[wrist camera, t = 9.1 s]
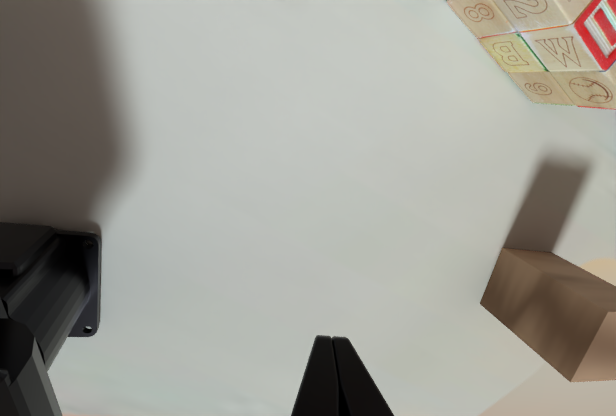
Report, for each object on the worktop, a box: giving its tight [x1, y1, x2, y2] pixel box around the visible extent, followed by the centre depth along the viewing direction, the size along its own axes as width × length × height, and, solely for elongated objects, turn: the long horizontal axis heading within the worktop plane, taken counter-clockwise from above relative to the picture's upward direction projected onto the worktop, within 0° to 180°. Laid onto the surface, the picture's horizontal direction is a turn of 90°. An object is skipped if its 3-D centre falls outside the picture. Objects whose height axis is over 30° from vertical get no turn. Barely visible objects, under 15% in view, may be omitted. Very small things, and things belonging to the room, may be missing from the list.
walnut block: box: [480, 248, 616, 382], centre depth 25 cm, size 5×5×8 cm
